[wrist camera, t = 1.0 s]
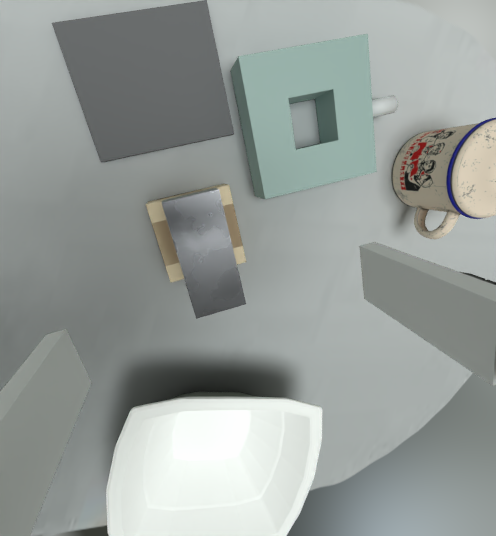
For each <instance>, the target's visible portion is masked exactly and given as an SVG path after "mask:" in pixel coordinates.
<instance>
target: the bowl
mask: <svg viewBox="0 0 496 536" xmlns="http://www.w3.org/2000/svg"><path fill="white" fill-rule="evenodd" d="M321 441H322V408H321V407H320V406H317V405H313V404H309V403H305V402H301V401H297V400H293V399H289V398H273V397H256V396H252V395H248V394H244V393H240V392H193V393H188V394H183V395H179V396H177V397H175V398H173V399H170V400H166V401H161V402H156V403H151V404H146V405H141V406H136V407H133V408H132V409H131V410H130V412H129V415H128V417H127V420H126V422H125V424H124V427H123V429H122V432H121V434H120V436H119V439H118V441H117V443H116V446H115V450H114V455H113V460H112V465H111V470H110V475H109V479H108V484H107V489H106V503H107V526H108V534H109V536H286V535H287V534H288V532H289V530H290V529H291V527H292V525H293V523H294V522H295V520H296V519H297V517H298V515H299V514H300V512H301V509H302V507H303V504H304V502H305V499H306V497H307V494H308V492H309V489H310V487H311V484H312V482H313V479H314V476H315V471H316V466H317V461H318V456H319V451H320V446H321Z"/></svg>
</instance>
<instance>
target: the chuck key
mask: <svg viewBox="0 0 496 536" xmlns="http://www.w3.org/2000/svg"><path fill="white" fill-rule="evenodd" d="M162 206H163V210H164V213H165V216H166V220H167V223H168V226H169V229H170V233H171V236H172V239H173V243H174V246H175V249H176V253H177V256H178V259H179V263H180V266H181V269H182V272H183V276H184V279H185V282H186V286H187V289H188V292H189V296H190V299H191V302H192V306H193V309H194V312H195V315H196V319H197V318H200V317H203V316H207V315H210V314H214V313H217V312H220V311H224V310H227V309H231V308H234V307H238V306H241V305H244V304H246V302H245V297H244V293H243V289H242V285H241V280H240V276H239V272H238V268H237V263H236V259H235V255H234V251H233V246H232V242H231V238H230V234H229V230H228V225H227V221H226V217H225V213H224V208H223V204H222V200H221V196H220V191H219V189H217V188H213V189H208V190H204V191H200V192H196V193H191V194H187V195H183V196H179V197H174V198H170V199H166V200H163V201H162Z"/></svg>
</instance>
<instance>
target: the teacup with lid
mask: <svg viewBox="0 0 496 536" xmlns="http://www.w3.org/2000/svg"><path fill="white" fill-rule="evenodd" d="M393 185H394V189H395V191H396V194H397V195H398V197H399V198H400V199H401V200H402V201H403V202H404V203H405V204H407V205H409V206H412V207H417V211H416V214H415V218H414V225H415V228H416V230H417V231H418V232H419V234H421V235H422V236H424V237H426V238H429V239H439V238H441V237H443V236H445V235H446V234H448V233H449V232H450V231H451V230H452V228H453V227H454V225H455V223H456V221H457V219H458V217H459V215H460V214H462V215H464V216H466V217H469V218H473V219H481V218H487V217H491V216H494V215H496V118H492V119H488V120H485V121H483V122H481V123H478V124H472V125H466V126H459V127H453V128H447V129H440V130H434V131H428V132H423V133H421V134H418V135H416V136H415V137H413V138H412V139H410V140H409V141H408V142H407V143H406V144H405V145H404V146H403V148H402V149H401V150H400V152H399V154H398V156H397V158H396V161H395V164H394V168H393ZM429 209H430V210H437V211H444V212H447V214H446V216H445V219H444V221H443V222H442V224H441V225H440V226H439V227H438V228H437V229H435V230H433V231H428V230H427V228H426V226H425V218H426V215H427V212H428V210H429Z"/></svg>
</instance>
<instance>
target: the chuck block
mask: <svg viewBox="0 0 496 536" xmlns="http://www.w3.org/2000/svg"><path fill="white" fill-rule="evenodd" d="M231 76H232V81H233V86H234V91H235V96H236V101H237V106H238V111H239V116H240V121H241V126H242V131H243V136H244V141H245V146H246V151H247V157H248V162H249V167H250V172H251V177H252V182H253V187H254V192H255V196H256V197H260V198H263V199H268V198H272V197H276V196H280V195H284V194H289V193H293V192H297V191H301V190H305V189H309V188H313V187H317V186H321V185H325V184H329V183H333V182H337V181H341V180H345V179H349V178H354V177H358V176H362V175H366V174H370V173H374V172H377V171H376V155H375V140H374V124H373V117H376V116H381V115H386V114H390V113H394V112H395V111H396V110H397V107H398V100H397V98H396V96H389V97H384V98H379V99H374V100H372V93H371V77H370V62H369V46H368V34H363V35H358V36H352V37H346V38H341V39H335V40H329V41H324V42H318V43H312V44H307V45H301V46H295V47H289V48H284V49H278V50H272V51H267V52H261V53H255V54H250V55H244V56H238V58H237V60H236V62H235V64H234V66H233V67H232V69H231ZM311 99H315V102H316V111H317V119H318V127H319V136H320V144H316V145H312V146H308V147H303V148H299V149H296V147H295V140H294V133H293V127H292V120H291V113H290V106H289V104H292V103H297V102H302V101H307V100H311Z"/></svg>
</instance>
